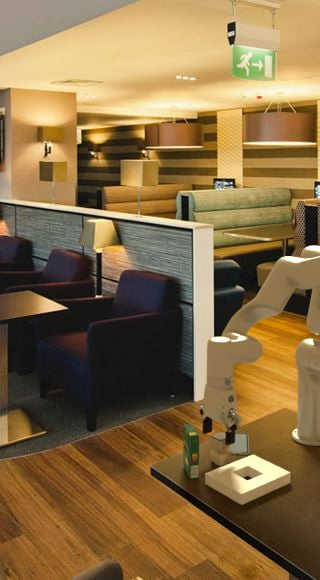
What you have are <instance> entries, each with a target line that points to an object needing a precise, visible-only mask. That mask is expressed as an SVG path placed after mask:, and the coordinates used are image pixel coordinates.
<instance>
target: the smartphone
mask: <svg viewBox="0 0 320 580" xmlns="http://www.w3.org/2000/svg"><path fill="white" fill-rule="evenodd" d="M224 433H225V434H226V432H224ZM249 440H250V439H249V434H248V433H245V432H235V443H233V444H231V455H236V454H238V455H239V456H240V455H241V456H247V455H248V456H249V454H250V443H249V442H250V441H249Z"/></svg>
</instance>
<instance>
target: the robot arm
mask: <svg viewBox="0 0 320 580" xmlns="http://www.w3.org/2000/svg"><path fill="white" fill-rule="evenodd" d="M296 288H297V289H301V290H311V295H310V296H311V297H310V301H309V302H310V303H309V306H308V310H307V311H308V313H307V317H306V327H307V330H308V331H309V332H310V333H312V334H313V335H316V336H319V337H320V245H309V246H306V247H304V248H303V249H302V251H301V252H300V257H299V256H298V257H297V256H289V255H288V256H282V257H280V258H279V259H278V260H277V261H276V262H275V264H274V265H273V267H272V269H271V270H270V272H269V274H268V276H267V277H266V279H265V280H264V283H263V284H262V286H261V287H260V289H259V291H258V293H257V294H256V296H255V297H254V298H253V299H252V300H250V301H249V302H247V303H246V304H245V305H243V306H242V307H241V308H239V310H237V312H236V313H234V314H233V315H232V316H231V318H230V320H229V321H228V323H227V325H226V326H225V328H224V330H223V331H222V334H221V336H213V337H211V338H209V339H208V340H207V344H206V383H205V386H204V391H203V400H201V401H198V402H197V406H198V410H199V414H200V415H201V417H200V418H201V420H202V434H204V435H207V434H209V433H212V432H213V420H214V421H217V422H218V423H221V424H224V426H225V429H226V431H225V433H226V435H225V444H226V445H230V444H233V443H235V433H236V431H238V429H240V426H241V423H242V421H243V420H242V418H241V416H240V415H239V414H238V400H237V399H238V398H237V393H236V387H234V386H235V382H234V368H235V367H234V365H235V364H252V363H256V362H258V361H259V360H260V359H261V358H262V356H263V353H264V347H263V345H262V343H261V341H259V339H257V338H256V337H253V336H251V335H248V332H249V331H250V330H251V329H252V327H253V326H254V325H256V324H257V323H259V322H260V321H262V320H265V319H269V318H272V317H275V316H277V315H280V314H281V313H282V312H283V310H284V309H285V307H286V305H287V303H288V301H289V300H290V298H291V296H292V295H293V293H294V292H295V290H296ZM294 354H295V355H294V356H295V357H294V359H295V365H296V371H297V408H296V409H297V413H296V415H297V418H296V419H297V421H296V422H297V423H296V428H295V429H294V430H292V431H291V432H292V433H291V437H292V439H293V440H294V441H295V442H297V443H299V444H302V445H306V446H313V447H320V339H318V338H311V337H310V338H305V339H303V340H302V341H300V342H299V343H298V344H297V346H296V348H295V353H294Z"/></svg>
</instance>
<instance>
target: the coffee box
mask: <svg viewBox="0 0 320 580" xmlns="http://www.w3.org/2000/svg"><path fill="white" fill-rule="evenodd" d="M182 433H183V434H182V437H183V438H182V439H183V441H182V442H183V443H182V444H183V448H182V449H183V468H184V470H185V472H186V474H187V475H188V477H189V480H198V479H200V433H199V432H198V431H197V430H196V428H195V426H194V424H193V423H185V424H183V425H182Z"/></svg>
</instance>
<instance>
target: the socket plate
mask: <svg viewBox="0 0 320 580" xmlns="http://www.w3.org/2000/svg"><path fill="white" fill-rule="evenodd" d="M245 477H249V478H250V479H248V480H247V479H245ZM204 483H205V485H207V486H208V487H210V488H212V489H213V490H215V491H217V492H219V493H220V494H222V495H224V496H226V497H228V498H229V499H231V500H232V501H234V502H235V503H237V504H239V505H241V506H243V505H245V504H247V503H249V502H251V501H254V500H256V499H259V498H261V497H264V496H265V495H267V494H268V493H271V492H273V491H276V490H278V489H280V488H282V487H285V486H287V485H289V484H291V471H288V470H286V469H284V468H282V467H281V466H278V465H276V464H274V463H272V462H270V461H268V460H265V459H263V458H261V457H260V456H257V455H256V454H251V455H248V456H246V457H244V458H241V459H238V460H236V461H233V462H230V463H228V464H225V465H223V466H219V467H217V468H215V469H212V470H210V471H208V472H205V473H204Z"/></svg>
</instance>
